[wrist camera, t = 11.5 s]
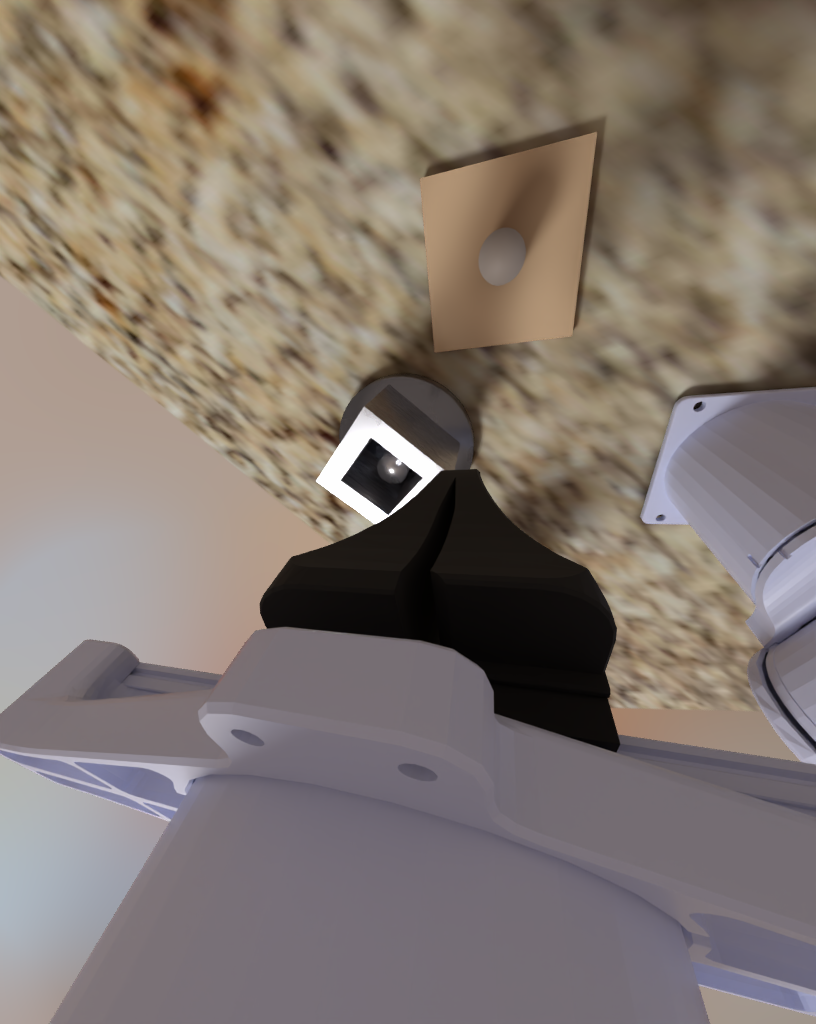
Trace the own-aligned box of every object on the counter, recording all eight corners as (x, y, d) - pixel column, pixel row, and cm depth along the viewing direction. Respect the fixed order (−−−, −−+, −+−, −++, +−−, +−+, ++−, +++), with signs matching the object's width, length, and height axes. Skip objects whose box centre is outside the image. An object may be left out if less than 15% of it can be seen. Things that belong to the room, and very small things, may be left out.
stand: (593, 137, 13) (621, 93, 10) (570, 334, 17) (585, 344, 14) (422, 182, 15) (404, 156, 12) (436, 351, 18) (424, 362, 16)
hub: (472, 365, 19) (467, 382, 15) (475, 499, 23) (472, 533, 20) (330, 381, 21) (300, 398, 18) (360, 499, 26) (340, 529, 22)
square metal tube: (389, 384, 19) (363, 406, 16) (460, 443, 20) (452, 477, 17) (345, 450, 22) (316, 481, 19) (408, 498, 23) (392, 536, 20)
